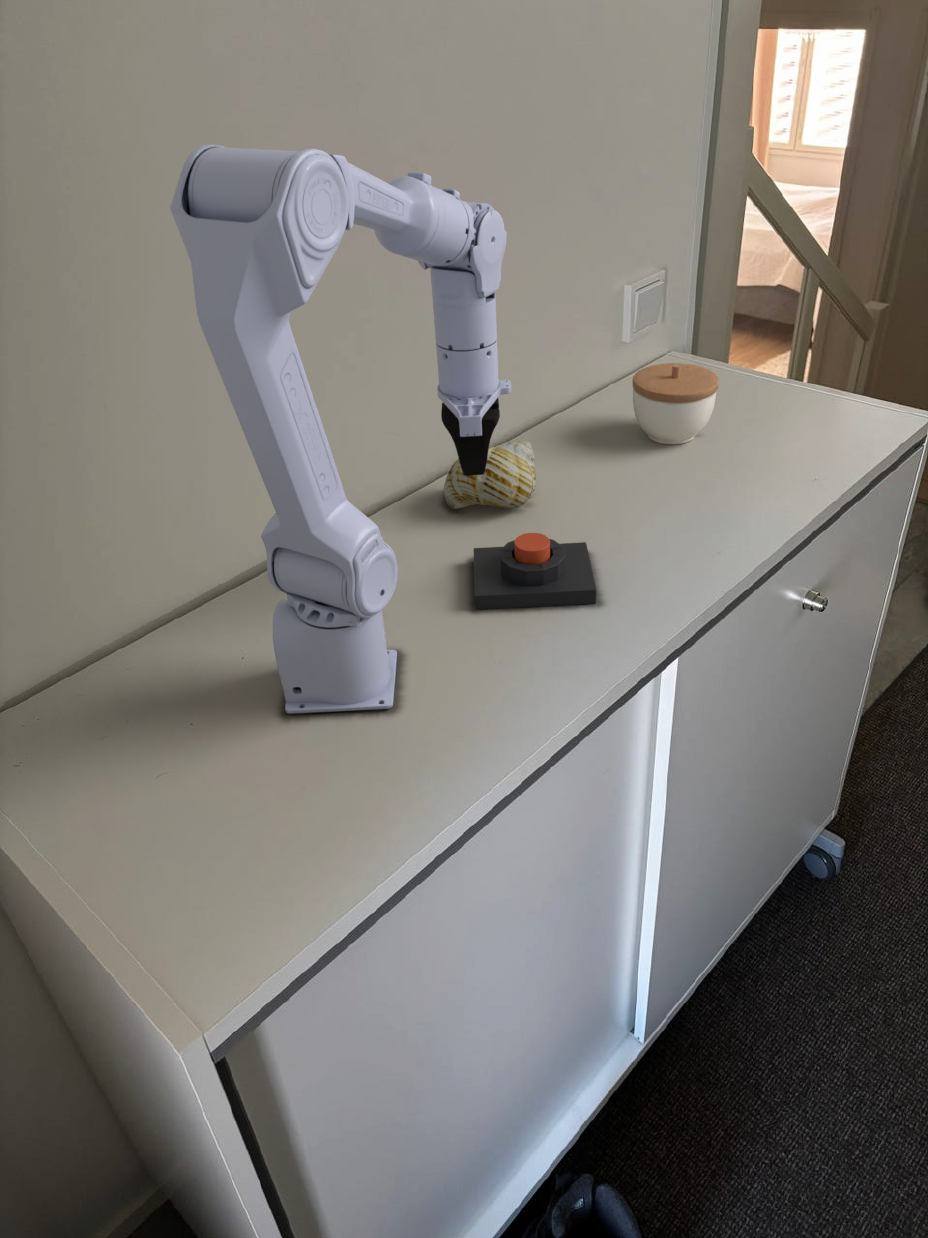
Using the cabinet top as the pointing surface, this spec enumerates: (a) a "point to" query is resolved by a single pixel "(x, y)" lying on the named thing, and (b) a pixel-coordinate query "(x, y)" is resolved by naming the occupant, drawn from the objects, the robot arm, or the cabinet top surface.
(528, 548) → the switch button
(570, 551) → the switch plate
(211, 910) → the cabinet top surface
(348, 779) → the cabinet top surface
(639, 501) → the cabinet top surface
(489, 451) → the seashell
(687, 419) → the trinket box
